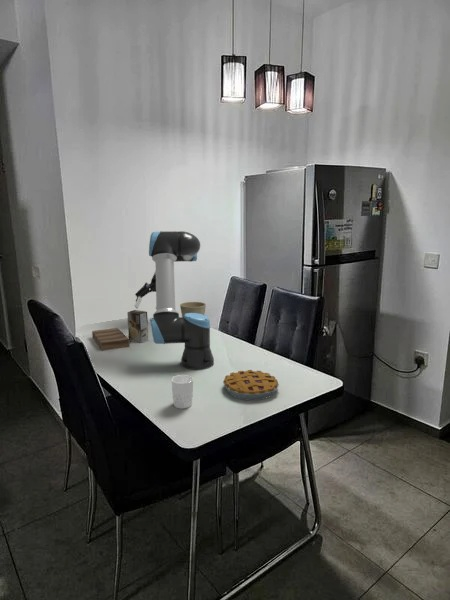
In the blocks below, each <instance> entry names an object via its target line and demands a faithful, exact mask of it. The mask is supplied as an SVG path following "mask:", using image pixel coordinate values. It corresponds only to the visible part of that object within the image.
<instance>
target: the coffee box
mask: <svg viewBox="0 0 450 600" xmlns="http://www.w3.org/2000/svg"><path fill="white" fill-rule="evenodd" d="M126 314H127V327H128V339H129V342H135V343H139V344H140V343H141V344H142V343H145V342H146V341H149V328H148V327H149V326H148V325H149V323H148V311H145V310H138V309H133V310H130V311H127V313H126Z"/></svg>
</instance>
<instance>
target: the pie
mask: <svg viewBox="0 0 450 600" xmlns="http://www.w3.org/2000/svg"><path fill="white" fill-rule="evenodd" d="M222 382H223V386H224V387H225V388H226V390H227V392H228V393H229V394H230V395H231V396H232V397H235V398H236V399H239V400H243V401H244V400H246V401H256V400H263V398H264V399H267V398H266V397H268V398H270V397H271V395H272V396H274V394H275V392H276V390H278V388H279V386H280V384H279V382H278V379H276V377H275V376H274V375H271V374H270V373H268V372H263V371H262V370H256V371H255V370H252V369H248V370H247V371H246V370H245V371H244V370H237V372H230V373H229V374H228V375H225V377H224V379H223V381H222ZM269 396H270V397H269Z"/></svg>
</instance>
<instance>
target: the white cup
mask: <svg viewBox="0 0 450 600" xmlns="http://www.w3.org/2000/svg"><path fill="white" fill-rule="evenodd" d="M171 391H172V393H171V394H172V400H173V402H172V403H173V407H175V408H177V409H180V410H181V409H183V410H184V409H188V408H190V407H191V406H192V405H193V394H194V377H193V376H191V375H189V374H178V375H174V376H173V377H172V378H171Z"/></svg>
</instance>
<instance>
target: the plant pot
mask: <svg viewBox="0 0 450 600" xmlns="http://www.w3.org/2000/svg"><path fill="white" fill-rule="evenodd" d="M206 305H207V304H206V303H205V302H202V301H201V302H200V301H186V302H182V303H180V304H179V307H180V308H179V309H180V312H181V317H184V315H185V314H186V313H198V314H203V315H205V312H206Z"/></svg>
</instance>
